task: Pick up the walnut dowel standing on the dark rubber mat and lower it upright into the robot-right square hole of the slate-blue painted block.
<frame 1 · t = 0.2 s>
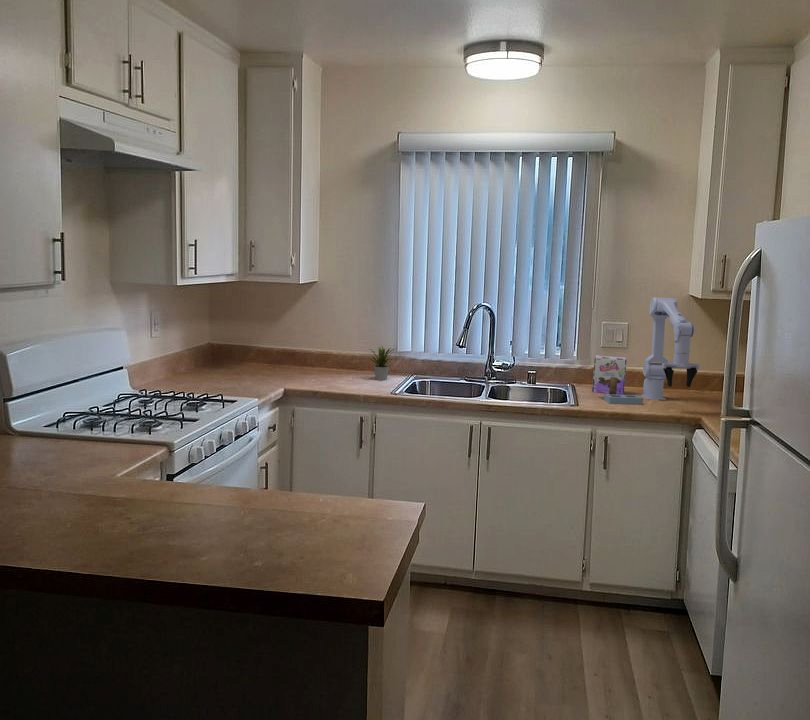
hand: (678, 386, 322), 10 cm above the table, tool pointing down, fingers open, 7 cm apart
house plant: (383, 380, 373), on the table
candy box: (608, 393, 359), on the table
hole block: (623, 403, 336), on the table
dowel: (612, 398, 344), resting on mat
mat: (612, 399, 344), on the table
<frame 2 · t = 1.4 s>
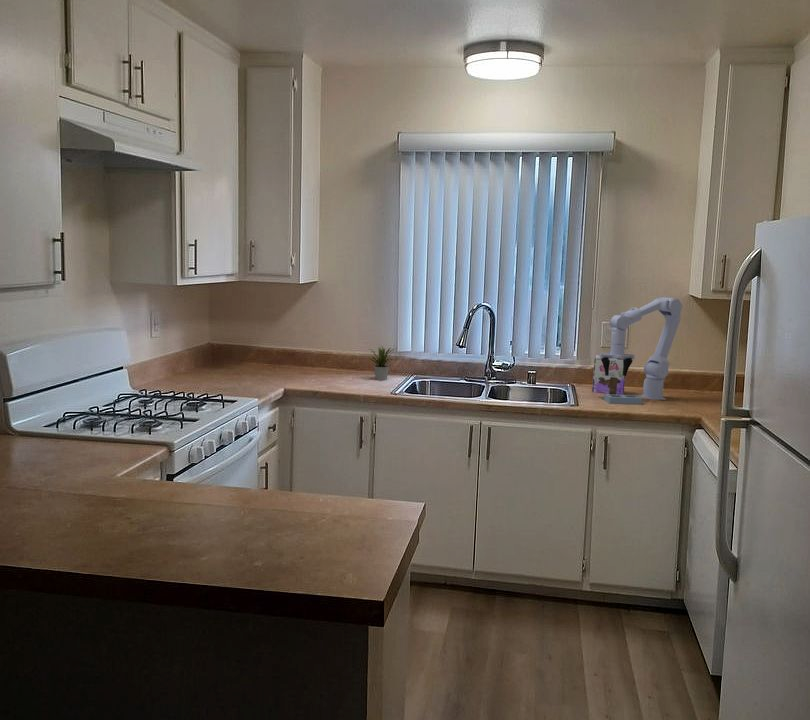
hand: (615, 375, 342), 10 cm above the table, tool pointing down, fingers open, 7 cm apart
nothing on the table moved.
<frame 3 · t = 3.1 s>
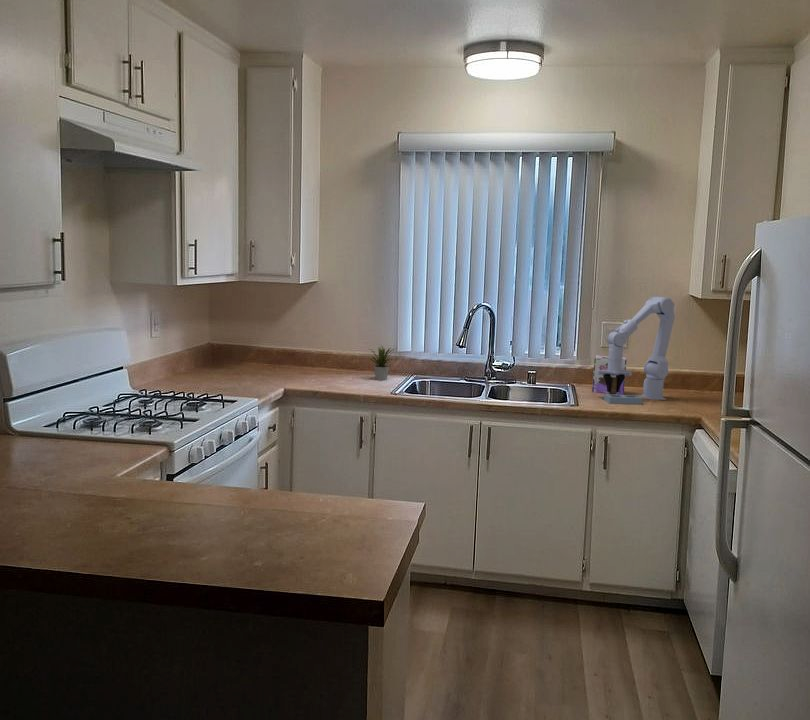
hand: (612, 391, 343), 3 cm above the table, tool pointing down, fingers closed on dowel, 3 cm apart
dowel: (612, 398, 344), resting on mat, touching gripper
everything else where it was.
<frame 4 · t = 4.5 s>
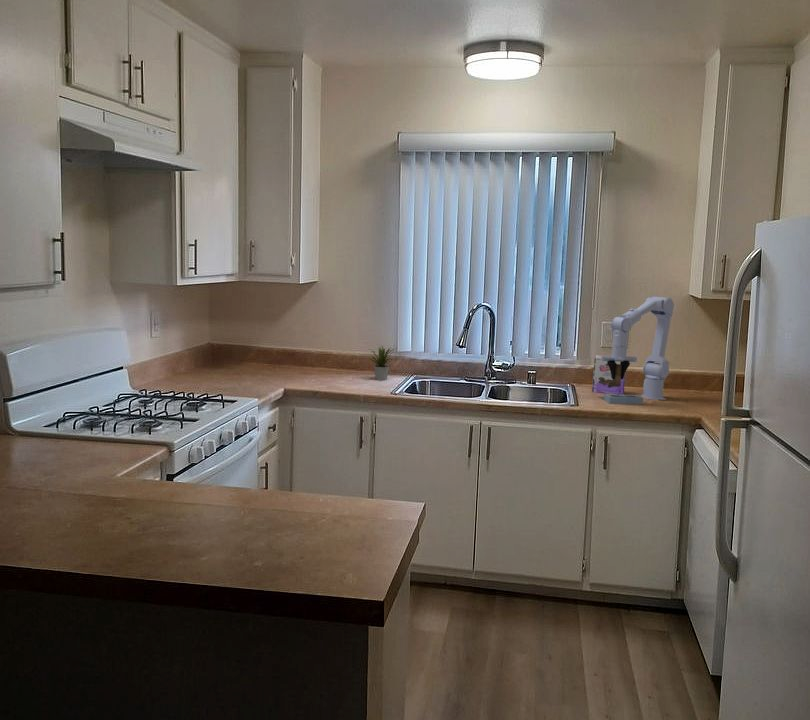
hand: (617, 378, 334), 10 cm above the table, tool pointing down, fingers closed on dowel, 3 cm apart
dowel: (616, 386, 335), point 7 cm above the table, touching gripper
everything else where it was.
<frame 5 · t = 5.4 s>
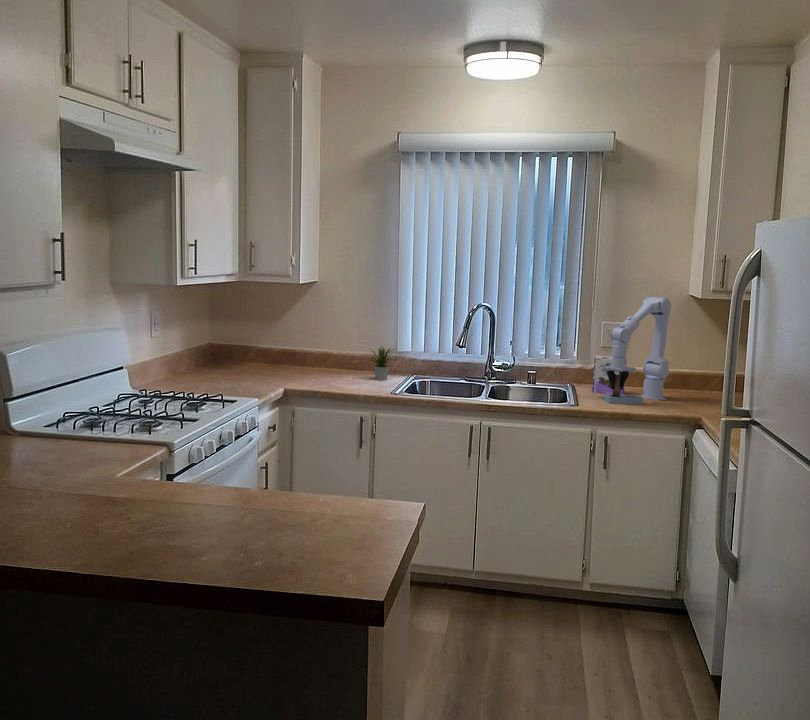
hand: (616, 389, 335), 6 cm above the table, tool pointing down, fingers closed on dowel, 3 cm apart
dowel: (615, 396, 335), point 3 cm above the table, touching gripper
everything else where it was.
when the fingers open (4 cm above the table, at t = 6.2 s): dowel drops 1 cm, resting in hole block.
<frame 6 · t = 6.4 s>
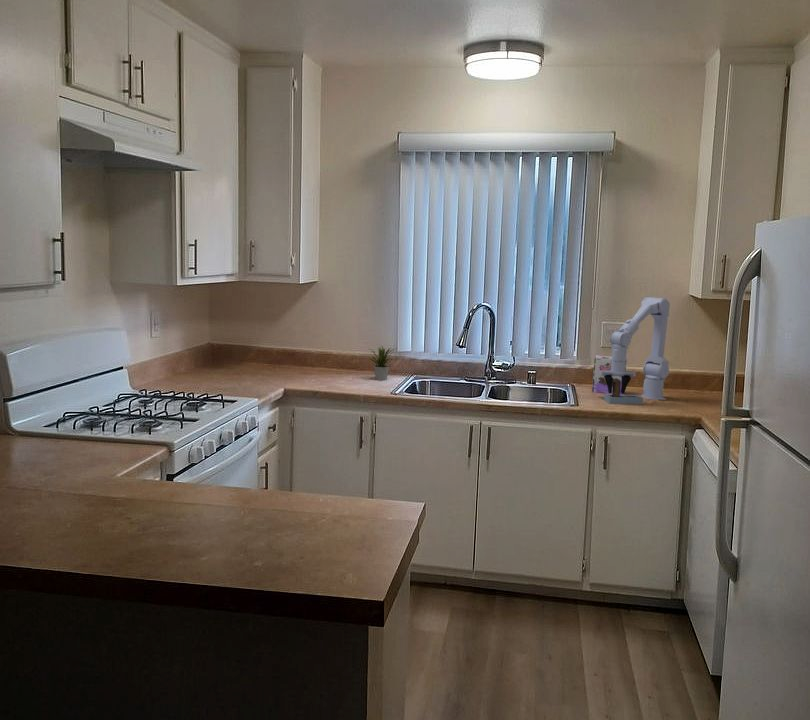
hand: (616, 393, 335), 4 cm above the table, tool pointing down, fingers open, 5 cm apart
dowel: (615, 403, 336), resting in hole block
everything else where it was.
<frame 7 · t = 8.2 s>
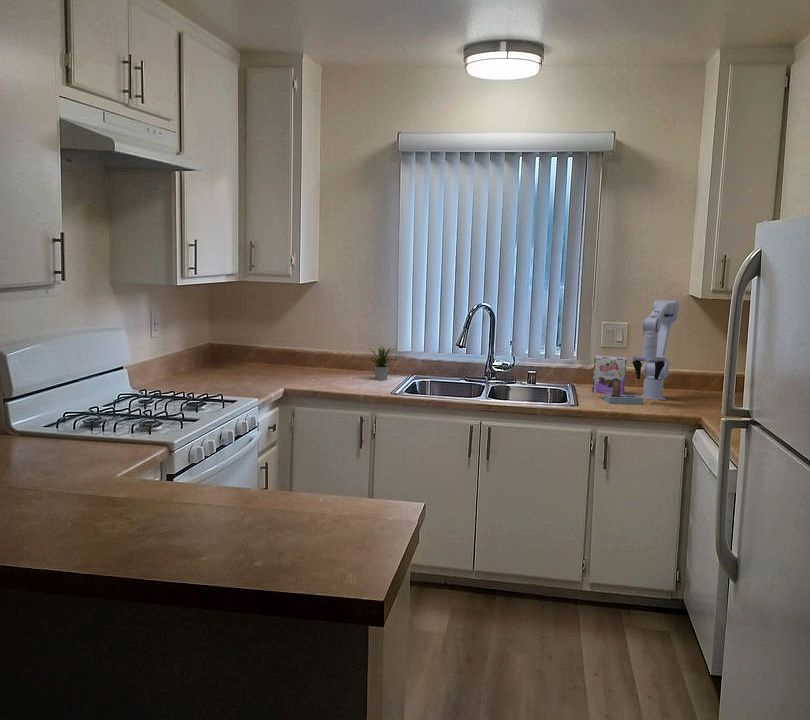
hand: (647, 379, 336), 10 cm above the table, tool pointing down, fingers open, 7 cm apart
nothing on the table moved.
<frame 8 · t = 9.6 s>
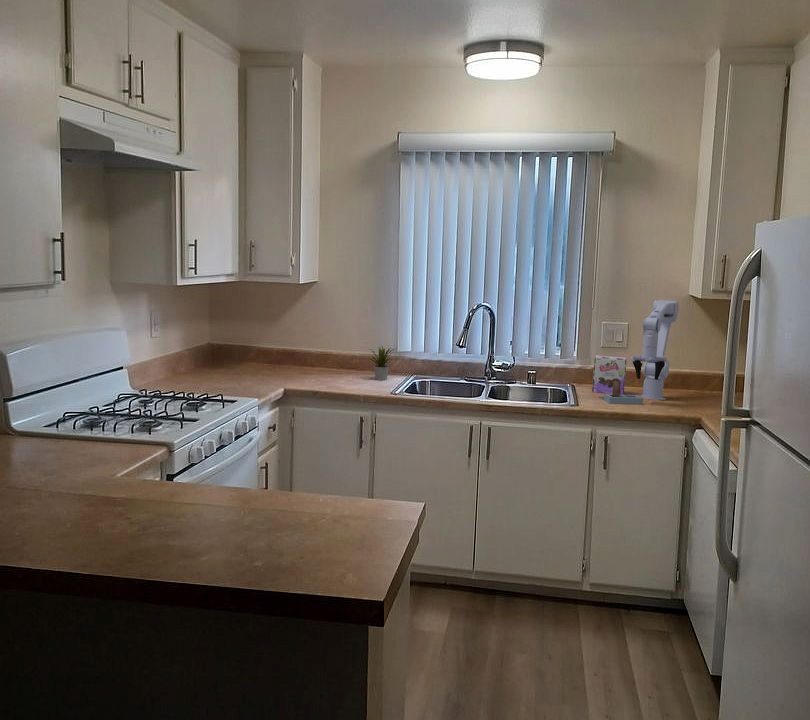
hand: (647, 379, 336), 10 cm above the table, tool pointing down, fingers open, 7 cm apart
nothing on the table moved.
at the end: dowel 0.1 cm from the target spot on the hole block, point 0.0 cm above the hole block's base; dowel tilted 0°; the gripper is holding nothing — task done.
